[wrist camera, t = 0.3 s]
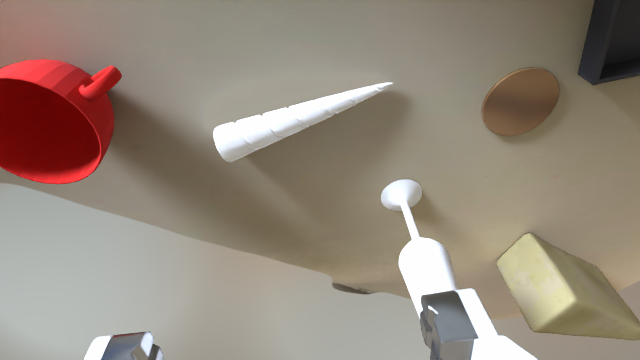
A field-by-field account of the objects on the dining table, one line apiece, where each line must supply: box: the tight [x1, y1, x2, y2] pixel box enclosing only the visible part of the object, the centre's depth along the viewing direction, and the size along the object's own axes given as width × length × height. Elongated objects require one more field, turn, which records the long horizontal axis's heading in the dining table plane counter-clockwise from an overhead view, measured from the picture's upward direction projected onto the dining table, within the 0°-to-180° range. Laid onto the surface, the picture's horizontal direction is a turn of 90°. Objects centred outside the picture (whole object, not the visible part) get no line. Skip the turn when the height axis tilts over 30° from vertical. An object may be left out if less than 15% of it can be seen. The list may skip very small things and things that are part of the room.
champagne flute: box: [381, 179, 459, 318], centre depth 52 cm, size 7×7×24 cm
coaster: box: [482, 68, 559, 136], centre depth 52 cm, size 10×10×1 cm
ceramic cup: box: [0, 59, 122, 184], centre depth 43 cm, size 13×17×10 cm
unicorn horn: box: [213, 82, 393, 162], centre depth 49 cm, size 5×24×5 cm, turn 104°
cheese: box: [497, 233, 640, 340], centre depth 69 cm, size 22×10×15 cm, turn 68°
